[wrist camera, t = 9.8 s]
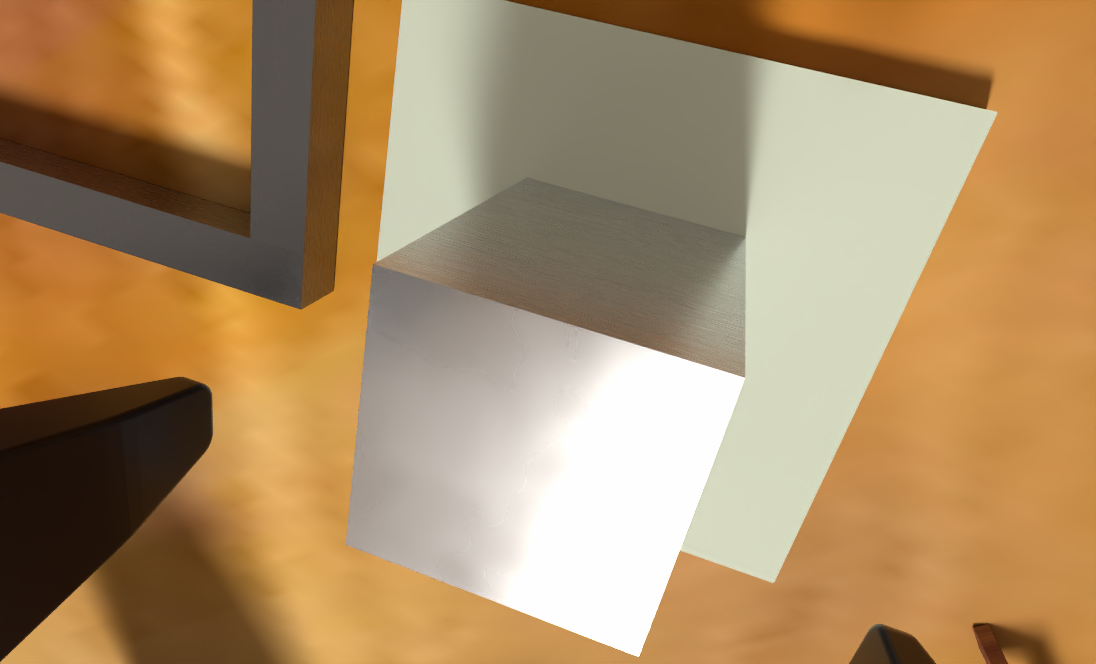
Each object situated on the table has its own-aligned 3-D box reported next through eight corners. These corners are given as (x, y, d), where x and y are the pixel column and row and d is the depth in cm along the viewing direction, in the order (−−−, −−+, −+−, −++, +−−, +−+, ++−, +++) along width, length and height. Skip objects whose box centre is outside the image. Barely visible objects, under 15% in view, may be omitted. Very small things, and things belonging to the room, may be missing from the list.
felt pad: (773, 567, 18) (773, 583, 17) (369, 427, 20) (359, 437, 19) (987, 109, 13) (997, 111, 12) (416, -20, 15) (404, -22, 14)
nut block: (679, 428, 16) (638, 656, 10) (490, 367, 17) (346, 544, 11) (745, 236, 14) (745, 378, 8) (526, 177, 15) (372, 264, 9)
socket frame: (333, 290, 18) (301, 309, 17) (-98, 155, 21) (-156, 162, 19) (362, -139, 14) (322, -159, 13) (-184, -248, 17) (-265, -274, 15)
